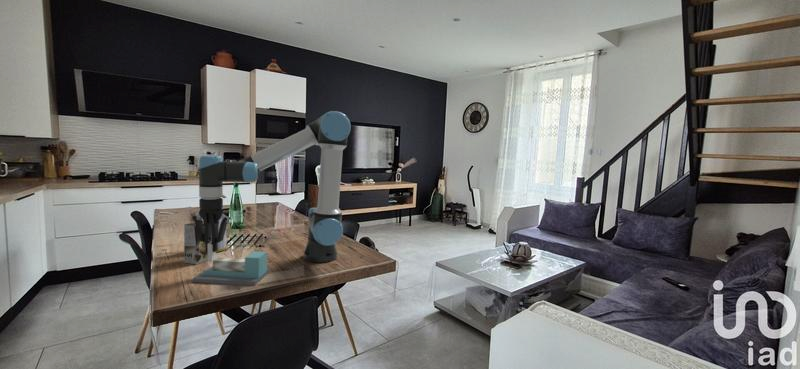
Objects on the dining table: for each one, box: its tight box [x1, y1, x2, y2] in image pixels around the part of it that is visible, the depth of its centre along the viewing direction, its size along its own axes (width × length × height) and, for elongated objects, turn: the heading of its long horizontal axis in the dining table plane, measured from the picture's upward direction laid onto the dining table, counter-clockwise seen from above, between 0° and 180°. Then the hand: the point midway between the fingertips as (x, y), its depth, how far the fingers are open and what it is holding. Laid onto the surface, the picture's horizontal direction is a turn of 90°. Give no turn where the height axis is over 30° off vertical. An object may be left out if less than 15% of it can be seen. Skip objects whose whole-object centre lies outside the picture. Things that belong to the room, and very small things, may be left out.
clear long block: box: [212, 257, 245, 272], centre depth 127 cm, size 15×4×5 cm, turn 90°
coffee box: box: [183, 220, 212, 265], centre depth 142 cm, size 9×6×16 cm
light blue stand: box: [192, 250, 271, 286], centre depth 127 cm, size 22×14×9 cm, turn 90°
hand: (211, 259), depth 127 cm, fingers closed
